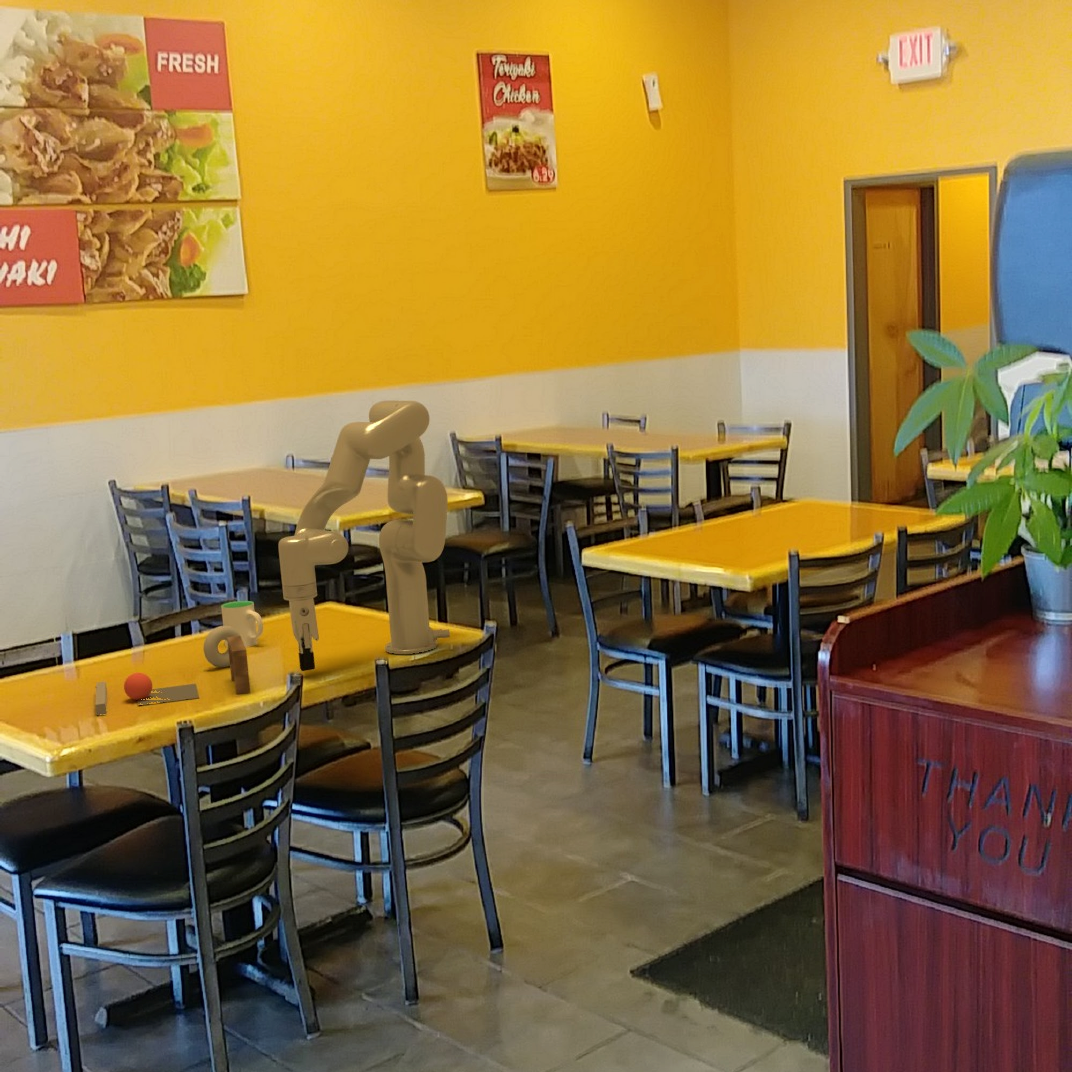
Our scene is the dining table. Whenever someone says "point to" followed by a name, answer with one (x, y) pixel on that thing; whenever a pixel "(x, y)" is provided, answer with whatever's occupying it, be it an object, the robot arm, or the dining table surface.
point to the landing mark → (172, 694)
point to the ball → (138, 686)
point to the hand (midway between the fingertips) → (307, 669)
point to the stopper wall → (101, 698)
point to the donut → (213, 642)
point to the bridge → (238, 664)
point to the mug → (243, 621)
